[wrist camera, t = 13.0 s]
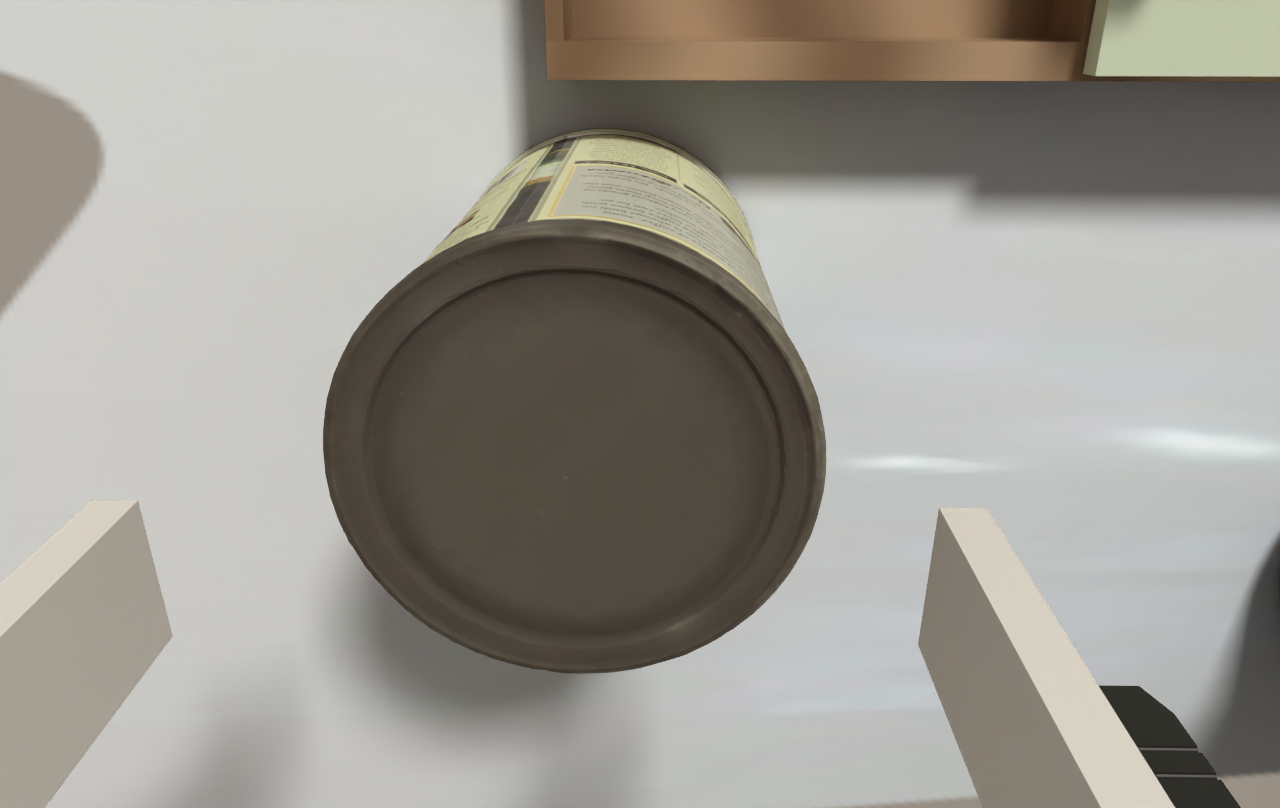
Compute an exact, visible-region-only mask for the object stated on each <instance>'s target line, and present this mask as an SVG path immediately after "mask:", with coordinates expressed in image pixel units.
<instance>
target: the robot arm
mask: <svg viewBox="0 0 1280 808" xmlns="http://www.w3.org/2000/svg"><path fill="white" fill-rule="evenodd" d="M171 638H172V632H171V628H170V624H169V620H168V617H167V613H166V609H165V605H164V601H163V597H162V593H161V589H160V585H159V581H158V577H157V574H156V570H155V566H154V562H153V558H152V554H151V550H150V546H149V542H148V538H147V535H146V531H145V527H144V523H143V519H142V515H141V511H140V507H139V503H138V501H117V500H92V501H90V502H89V503H88V504H87V505H86V506H85V507H84V508H83V509H82V510H81V511H79V512H78V513H77V514H76V515H75V516H74V517H73V518H72V519H71V520H70V521H68V522H67V523H66V524H65V525H64V526H63V527H62V528H61V529H60V530H59V531H57V532H56V533H55V534H54V535H53V536H52V537H51V538H50V539H49V540H48V541H46V542H45V543H44V544H43V545H42V546H41V547H40V548H39V549H38V550H37V551H35V552H34V553H33V554H32V555H31V556H30V557H29V558H28V559H27V560H26V561H24V562H23V563H22V564H21V565H20V566H19V567H18V568H17V569H16V570H15V571H13V572H12V573H11V574H10V575H9V576H8V577H7V578H6V579H5V580H4V581H2V582H1V583H0V808H45V807H46V805H47V804H48V803H49V801H50V800H51V799H52V797H53V796H54V794H55V793H56V792H57V790H58V789H59V788H60V786H61V785H62V784H63V782H64V781H65V780H66V778H67V777H68V776H69V774H70V773H71V772H72V770H73V769H74V768H75V766H76V765H77V764H78V762H79V761H80V760H81V758H82V757H83V756H84V754H85V753H86V752H87V750H88V749H89V748H90V746H91V745H92V744H93V742H94V741H95V739H96V738H97V737H98V735H99V734H100V733H101V731H102V730H103V729H104V727H105V726H106V725H107V723H108V722H109V721H110V719H111V718H112V717H113V715H114V714H115V713H116V711H117V710H118V709H119V707H120V706H121V705H122V703H123V702H124V701H125V699H126V698H127V697H128V695H129V694H130V693H131V691H132V690H133V689H134V687H135V686H136V684H137V683H138V682H139V680H140V679H141V678H142V676H143V675H144V674H145V672H146V671H147V670H148V668H149V667H150V666H151V664H152V663H153V662H154V660H155V659H156V658H157V656H158V655H159V654H160V652H161V651H162V650H163V648H164V647H165V646H166V644H167V643H168V642H169V640H170V639H171ZM918 645H919V648H920V650H921V653H922V655H923V658H924V660H925V663H926V665H927V668H928V670H929V673H930V675H931V678H932V681H933V683H934V686H935V688H936V691H937V693H938V696H939V698H940V701H941V703H942V706H943V708H944V711H945V713H946V716H947V718H948V721H949V723H950V726H951V729H952V731H953V734H954V736H955V739H956V741H957V744H958V746H959V749H960V751H961V754H962V756H963V759H964V761H965V764H966V766H967V769H968V771H969V774H970V777H971V779H972V782H973V784H974V787H975V789H976V792H977V794H978V797H979V799H980V802H981V804H982V807H983V808H1240V806H1239V805H1238V803H1237V802H1236V800H1235V799H1234V797H1233V796H1232V795H1231V793H1230V792H1229V790H1228V789H1227V788H1226V786H1225V785H1224V783H1223V782H1222V781H1221V780H1217V778H1216V772H1215V771H1214V769H1213V768H1212V766H1211V765H1210V764H1209V762H1208V761H1207V759H1206V758H1205V757H1204V755H1203V754H1202V753H1198V751H1197V745H1196V744H1195V743H1194V741H1193V740H1192V738H1191V737H1190V735H1189V734H1188V733H1187V731H1186V730H1185V728H1184V727H1183V726H1182V724H1181V723H1180V721H1179V720H1178V719H1177V717H1176V716H1175V714H1174V713H1172V712H1171V711H1170V710H1168V709H1167V708H1166V707H1165V706H1163V705H1162V704H1161V703H1160V702H1158V701H1157V700H1156V699H1155V698H1153V697H1152V696H1151V695H1150V694H1148V693H1147V692H1146V691H1144V690H1143V689H1142V688H1141V687H1139V686H1098V684H1097V683H1096V681H1095V680H1094V678H1093V676H1092V675H1091V673H1090V672H1089V670H1088V668H1087V667H1086V665H1085V664H1084V662H1083V660H1082V659H1081V657H1080V656H1079V654H1078V653H1077V651H1076V649H1075V648H1074V646H1073V645H1072V643H1071V641H1070V640H1069V638H1068V637H1067V635H1066V633H1065V632H1064V630H1063V629H1062V627H1061V626H1060V624H1059V622H1058V621H1057V619H1056V618H1055V616H1054V614H1053V613H1052V611H1051V610H1050V608H1049V606H1048V605H1047V603H1046V602H1045V600H1044V599H1043V597H1042V595H1041V594H1040V592H1039V591H1038V589H1037V587H1036V586H1035V584H1034V583H1033V581H1032V579H1031V578H1030V576H1029V575H1028V573H1027V572H1026V570H1025V568H1024V567H1023V565H1022V564H1021V562H1020V560H1019V559H1018V557H1017V556H1016V554H1015V552H1014V551H1013V549H1012V548H1011V546H1010V545H1009V543H1008V541H1007V540H1006V538H1005V537H1004V535H1003V533H1002V532H1001V530H1000V529H999V527H998V525H997V524H996V522H995V521H994V519H993V518H992V516H991V514H990V513H989V511H988V510H987V508H939V512H938V518H937V525H936V531H935V538H934V545H933V551H932V558H931V564H930V571H929V577H928V584H927V590H926V597H925V603H924V610H923V616H922V623H921V629H920V636H919V643H918Z"/></svg>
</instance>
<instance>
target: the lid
mask: <svg viewBox="0 0 1280 808" xmlns="http://www.w3.org/2000/svg"><path fill="white" fill-rule="evenodd" d="M1083 74H1087V75H1092V76H1262V77H1280V0H1096V5H1095V10H1094V16H1093V21H1092V26H1091V32H1090V37H1089V43H1088V48H1087V54H1086V59H1085V65H1084V70H1083Z"/></svg>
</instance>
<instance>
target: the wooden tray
mask: <svg viewBox="0 0 1280 808" xmlns="http://www.w3.org/2000/svg"><path fill="white" fill-rule="evenodd" d="M1095 5H1096V0H544V13H545V39H546V65H547V80H804V81H1230V82H1280V77H1262V76H1092V75H1087V74H1083V70H1084V65H1085V59H1086V54H1087V48H1088V43H1089V37H1090V32H1091V26H1092V21H1093V16H1094V10H1095Z"/></svg>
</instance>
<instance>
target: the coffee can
mask: <svg viewBox="0 0 1280 808" xmlns="http://www.w3.org/2000/svg"><path fill="white" fill-rule="evenodd" d="M323 452H324V463H325V473H326V478H327V483H328V487H329V492H330V497H331V500H332V503H333V505H334V508H335V511H336V514H337V517H338V519H339V522H340V524H341V526H342V528H343V531H344V532H345V534H346V536H347V538H348V541H349V543H350V544H351V545H352V546H353V547H354V549H355V551H356V552H357V554H358V556H359V557H360V559H361V560H362V562H363V563H364V565H365V566H366V568H367V569H368V570H369V571H370V572H371V574H372V575H373V576H374V578H375V579H376V580H377V581H378V582H379V583H380V584H381V585H382V586H383V587H384V588H385V589H386V591H387V592H388V593H389V594H390V595H391V596H392V597H393V598H394V599H396V600H397V601H398V602H399V603H400V604H401V605H402V606H403V607H404V608H405V609H406V610H407V611H409V612H410V613H411V614H412V615H414V616H415V617H416V618H417V619H418V620H420V621H421V622H423V623H424V624H425V625H427V626H428V627H430V628H431V629H432V630H434V631H436V632H438V633H439V634H441V635H443V636H445V637H446V638H448V639H450V640H451V641H453V642H455V643H458V644H460V645H462V646H464V647H466V648H469V649H471V650H473V651H475V652H477V653H480V654H483V655H486V656H488V657H491V658H494V659H497V660H501V661H504V662H508V663H511V664H515V665H519V666H523V667H527V668H531V669H542V670H548V671H553V672H560V673H608V672H618V671H625V670H631V669H636V668H641V667H645V666H649V665H653V664H656V663H660V662H663V661H667V660H670V659H674V658H677V657H680V656H683V655H686V654H688V653H690V652H692V651H694V650H696V649H698V648H700V647H702V646H704V645H707V644H708V643H710V642H712V641H714V640H716V639H718V638H719V637H721V636H722V635H724V634H725V633H726V632H728V631H730V630H732V629H733V628H735V627H736V626H737V625H739V624H740V623H741V622H743V621H744V620H745V619H747V618H748V617H749V616H751V615H752V614H753V613H754V612H755V611H756V610H757V609H759V608H760V607H761V606H762V605H763V604H764V603H765V602H766V601H767V600H768V599H769V598H770V596H771V595H772V594H773V593H774V592H775V591H776V590H777V589H778V588H779V586H780V585H781V584H782V582H783V581H784V580H785V579H786V577H787V576H788V575H789V573H790V572H791V570H792V569H793V567H794V565H795V564H796V562H797V560H798V559H799V557H800V555H801V553H802V551H803V550H804V548H805V546H806V544H807V542H808V540H809V538H810V536H811V533H812V531H813V528H814V525H815V522H816V519H817V515H818V511H819V507H820V504H821V499H822V495H823V491H824V483H825V474H826V440H825V431H824V426H823V421H822V415H821V410H820V405H819V401H818V397H817V394H816V392H815V389H814V386H813V384H812V382H811V379H810V377H809V374H808V372H807V370H806V367H805V365H804V363H803V361H802V360H801V358H800V356H799V354H798V352H797V350H796V349H795V347H794V345H793V343H792V342H791V340H790V339H789V337H788V335H787V334H786V331H785V329H784V326H783V323H782V321H781V318H780V316H779V313H778V310H777V308H776V305H775V303H774V300H773V297H772V295H771V292H770V289H769V286H768V284H767V281H766V278H765V276H764V274H763V271H762V269H761V266H760V263H759V260H758V258H757V255H756V251H755V247H754V243H753V239H752V236H751V232H750V229H749V227H748V224H747V221H746V219H745V216H744V214H743V212H742V210H741V208H740V206H739V205H738V203H737V201H736V200H735V198H734V197H733V196H732V194H731V193H730V192H729V190H728V189H727V188H726V186H725V185H724V184H723V183H722V181H721V180H720V179H719V178H718V177H717V176H716V175H715V174H714V173H713V172H712V171H711V170H709V169H708V168H707V167H706V166H705V165H704V164H703V163H702V162H701V161H700V160H698V159H696V158H695V157H693V156H692V155H690V154H689V153H687V152H686V151H684V150H682V149H680V148H678V147H676V146H675V145H672V144H670V143H668V142H666V141H663V140H661V139H658V138H655V137H653V136H650V135H648V134H646V133H640V132H631V131H625V130H619V129H590V130H583V131H577V132H572V133H568V134H564V135H561V136H558V137H555V138H552V139H549V140H547V141H545V142H542V143H540V144H538V145H536V146H535V147H533V148H530V149H528V150H527V151H525V152H524V153H523V154H522V155H520V156H519V157H517V158H516V159H515V160H513V161H512V162H511V163H510V164H509V165H508V166H507V167H505V168H504V169H503V170H502V171H501V172H500V173H499V174H498V175H497V177H496V178H495V179H494V180H493V181H492V182H491V183H490V185H489V186H488V187H487V189H486V190H485V192H484V193H483V194H482V196H481V198H480V199H479V201H478V202H477V203H476V204H475V205H474V206H473V207H472V209H471V210H470V211H469V212H468V213H467V215H466V216H465V217H464V218H463V219H462V220H461V222H460V223H459V224H458V225H457V226H456V227H455V229H453V230H452V231H451V233H450V234H449V235H448V236H447V237H446V238H445V239H444V241H443V242H441V243H440V244H439V245H438V246H437V247H436V249H435V250H434V251H433V252H432V253H431V254H430V256H429V257H428V258H427V260H426V261H425V262H424V263H423V264H422V265H420V266H419V267H418V268H416V269H415V270H413V271H412V272H411V273H410V274H408V275H407V276H406V277H405V278H404V279H403V280H401V281H400V282H399V283H398V284H397V285H396V286H395V287H393V288H392V289H391V290H390V291H389V292H388V293H387V294H386V295H385V296H384V297H383V298H382V299H381V300H380V301H379V302H378V303H377V304H376V305H375V307H374V308H373V309H372V310H371V311H370V313H369V314H368V315H367V316H366V318H365V319H364V320H363V321H362V323H361V324H360V325H359V327H358V328H357V330H356V331H355V332H354V334H353V335H352V337H351V339H350V341H349V343H348V345H347V347H346V349H345V351H344V352H343V354H342V357H341V359H340V361H339V363H338V366H337V368H336V370H335V372H334V375H333V379H332V382H331V386H330V390H329V393H328V397H327V403H326V409H325V418H324V428H323Z"/></svg>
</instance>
